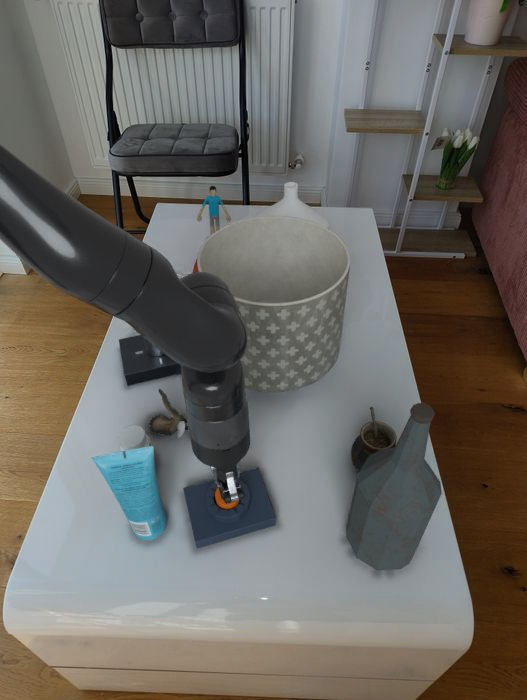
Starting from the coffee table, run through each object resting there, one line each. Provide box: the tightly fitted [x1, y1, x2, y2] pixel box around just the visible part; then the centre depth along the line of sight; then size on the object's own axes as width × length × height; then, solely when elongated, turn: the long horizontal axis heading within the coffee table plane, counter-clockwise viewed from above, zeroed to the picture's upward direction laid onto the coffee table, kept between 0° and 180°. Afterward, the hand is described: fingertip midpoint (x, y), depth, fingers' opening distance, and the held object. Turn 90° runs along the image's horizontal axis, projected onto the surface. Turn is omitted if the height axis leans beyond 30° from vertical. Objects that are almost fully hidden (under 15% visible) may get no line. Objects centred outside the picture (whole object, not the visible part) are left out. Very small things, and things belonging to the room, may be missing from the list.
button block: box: [182, 467, 277, 549], centre depth 77 cm, size 12×9×4 cm
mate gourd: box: [350, 406, 398, 472], centre depth 81 cm, size 7×8×10 cm
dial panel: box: [118, 334, 181, 386], centre depth 100 cm, size 14×10×3 cm
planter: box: [196, 216, 351, 393], centre depth 93 cm, size 25×25×24 cm
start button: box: [215, 487, 240, 510], centre depth 76 cm, size 4×4×2 cm
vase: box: [254, 181, 331, 230], centre depth 118 cm, size 18×18×19 cm
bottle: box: [345, 402, 443, 571], centre depth 65 cm, size 10×10×30 cm
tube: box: [91, 445, 167, 541], centre depth 70 cm, size 7×5×19 cm, turn 107°
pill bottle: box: [118, 424, 156, 462], centre depth 82 cm, size 5×5×8 cm
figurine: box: [196, 185, 232, 237], centre depth 125 cm, size 8×3×15 cm, turn 94°
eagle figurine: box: [148, 388, 189, 439], centre depth 88 cm, size 8×7×9 cm
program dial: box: [143, 337, 164, 356], centre depth 98 cm, size 4×4×5 cm
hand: (227, 493), depth 75 cm, fingers closed
